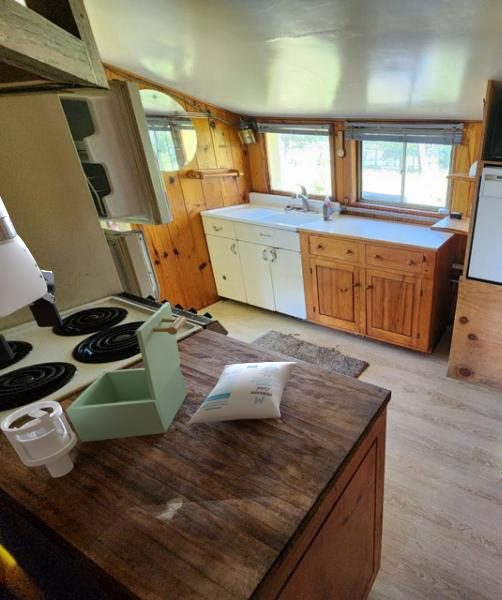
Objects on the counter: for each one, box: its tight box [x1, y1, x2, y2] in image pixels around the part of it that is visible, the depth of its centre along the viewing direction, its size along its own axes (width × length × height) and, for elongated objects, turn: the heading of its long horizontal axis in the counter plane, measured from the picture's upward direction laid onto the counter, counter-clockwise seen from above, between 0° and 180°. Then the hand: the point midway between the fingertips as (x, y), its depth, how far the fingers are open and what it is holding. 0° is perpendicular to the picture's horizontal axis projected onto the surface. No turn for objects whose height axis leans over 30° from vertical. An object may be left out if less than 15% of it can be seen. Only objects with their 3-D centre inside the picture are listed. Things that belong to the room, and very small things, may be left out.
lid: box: [135, 301, 188, 400], centre depth 69 cm, size 16×13×5 cm
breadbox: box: [65, 366, 188, 443], centre depth 73 cm, size 16×13×9 cm
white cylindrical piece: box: [0, 400, 78, 479], centre depth 58 cm, size 7×7×15 cm
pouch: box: [187, 361, 298, 424], centre depth 78 cm, size 8×19×20 cm
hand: (28, 341), depth 50 cm, fingers open, 9 cm apart
